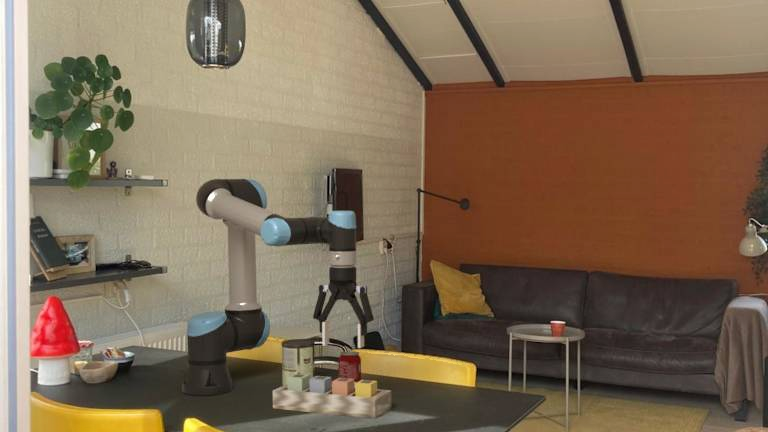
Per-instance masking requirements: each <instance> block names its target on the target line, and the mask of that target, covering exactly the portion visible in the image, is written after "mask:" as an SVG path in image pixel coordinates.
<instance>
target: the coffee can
mask: <svg viewBox="0 0 768 432" xmlns="http://www.w3.org/2000/svg"><path fill="white" fill-rule="evenodd" d="M280 343H281V365H282V366H281V367H282V368H281V369H282V372H281V373H282V379H281V380H282V386H284V385H286V384H287V377H289V376H291V375H294V374H301V375H309V383H310V379H311V378H313V377H315V376H316V375H315V367H316V366H315V363H316V362H315V343H316V341H315V340H313V339H308V338H307V339H305V338H296V339H295V338H293V339H286V340H283V341H281V342H280Z"/></svg>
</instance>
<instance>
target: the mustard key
mask: <svg viewBox="0 0 768 432" xmlns="http://www.w3.org/2000/svg"><path fill="white" fill-rule="evenodd" d="M377 389H378V381H377V380H367V379H361V381H359V382H357V383H355V396H356V397H366V398H372V397H373V396H375V395H377Z"/></svg>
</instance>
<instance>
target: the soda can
mask: <svg viewBox="0 0 768 432" xmlns="http://www.w3.org/2000/svg"><path fill="white" fill-rule="evenodd" d="M359 354H360V353H359V352H358V351H355V350H354V351H353V350H346V351H342V352H340V356H339V357H338V378H348V379H354V387H355V383H357V382H359V381H361V380H362V358H361V356H360V355H359Z"/></svg>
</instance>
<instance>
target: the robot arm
mask: <svg viewBox="0 0 768 432" xmlns="http://www.w3.org/2000/svg"><path fill="white" fill-rule="evenodd" d="M195 197H196V198H195V201H196V205H197V208H198V210H199V211H200V212H201V213H202V214H203V215H204V216H206V217H209V218H211V219H213V220H222V223H223V224H224V225H225V226H227V227H226V228H227V250H228V253H227V254H228V255H227V256H228V260H227V261H228V294H229V296H228V297H229V299H228V301H229V302H228V304H227V305H226V306H225V307H224V311H220V310H219V311H218V310H217V311H216V310H215V311H205V312H201V313H198V314H195V315H192V316H191V317H190V318H189V319H188V321H187V329H186V335H187V339H186V340H187V367H186V370H185V374H184V377H183V380H182V383H181V388H182V389H181V392H182V393H183V394H186V395H191V396H212V395H214V396H215V395H221V394H226V393H229V392H230V391H232V390H233V379H232V377H231V373H230V371H229V367H228V365H227V363H228V362H227V353H235V352H239V351H244V350H245V351H246V350H247V351H248V350H249V351H250V350H253V349H256V348H260V347H262V346H263V345H265V342H267V340H268V338H269V335H270V332H271V323H270V319H269V318H268V315H267V314H266V312H265V311H262V310H263V307H262V305H261V304H260V303H259V302H258V297H257V296H258V295H257V294H258V293H257V292H258V291H257V254H256V253H257V252H256V236H259V237H260V238H261V241H263V242H264V244H266V245H267V246H269V247H278V248H279V247H284V246H297V245H314V244H315V245H316V244H317V245H318V244H321V245H323V244H324V245H328V246H329V248H328V252H329V256H328V257H329V262H328V263H329V265H330V267H329V269H328V271H329V272H328V274H329V275H328V279H329V283H328V284H325V283H324V284H320V285H318V296H317V301H316V304H315V308H314V310H313V311H314V312H313V315H312V319H314V320H317V321H318V322H319V333H320V334H321V335H322V336H321V337H322V340H321V341H322V346H324V347H325V346H327V345H330V321H329V320H327V319H328V317H329V315H330V313H331V311H333V310H332V309H333V308H334V306H335V304H336V302H337V301H340V300H343V301H347V302H348V303H349V304H350V306H351V308H352V310H353V311H354V314H355V316H356V317H357V319H358V320H359V323H358V324H357V348H358V349H362V348H363V347H365V336H367V334H368V323H371V322H373V321H374V320H375V318H374V315H373V310H372V308H371V303H370V300H369V297H368V286H367V285H364V286H360V285H358V283H357V267H356V265H357V227H358V226H357V217H356V212H355V211H353V210H331V211H329V213H328V217H322V216H321V217H320V216H307V217H285V216H283V215H282V216H281V215H280V214H277V213H275V212H273V211H270V210H268V209H267V205H268V198H267V193H266V191H265V189H264V187H263V186H262V184H261V183H260V182H258V181H257V180H254V179H247V178H214V179H209V180H207V181H206V182H204V183H203V184H202V185H201V186H200V187H199V188H198V191H197V193H196V196H195ZM328 292H330V293H331V294H330V296H329V298H328V300H327V303H326V305H325V301H326V297H327V293H328ZM356 292H357V293H358V295H359V298H360V302H361V305H360V303H359V302H358V298H357V296H356ZM324 305H325V307H324ZM361 306H362V307H361ZM323 308H324V309H323Z"/></svg>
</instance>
